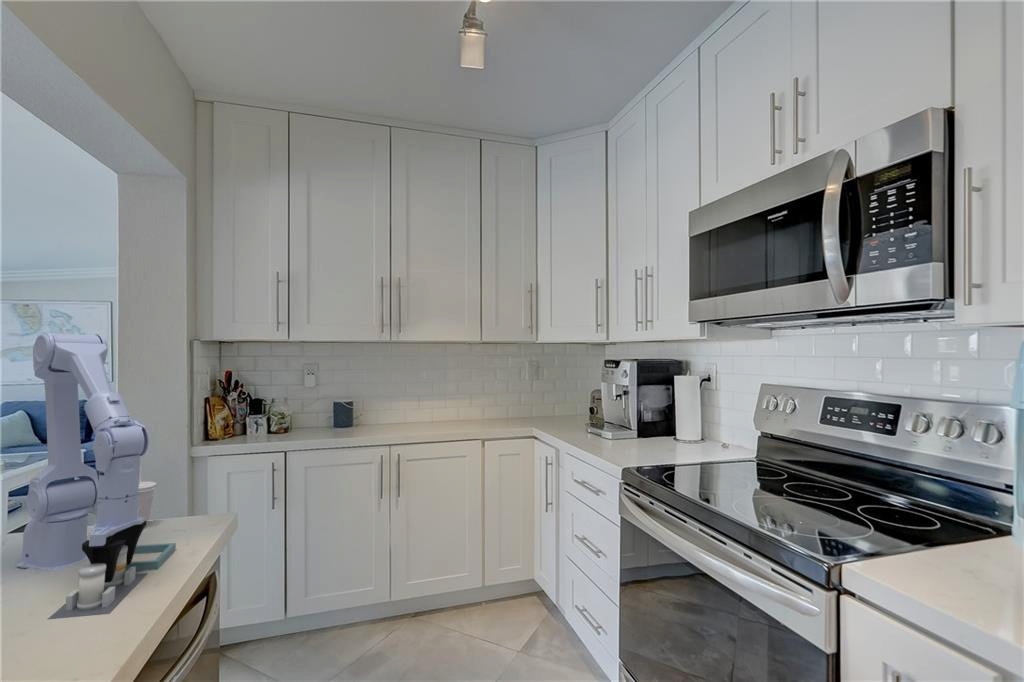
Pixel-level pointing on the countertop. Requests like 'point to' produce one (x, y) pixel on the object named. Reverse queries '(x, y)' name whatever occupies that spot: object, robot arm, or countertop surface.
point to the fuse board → (109, 598)
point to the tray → (152, 548)
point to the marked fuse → (119, 569)
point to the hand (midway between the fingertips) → (114, 572)
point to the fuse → (91, 586)
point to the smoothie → (145, 497)
